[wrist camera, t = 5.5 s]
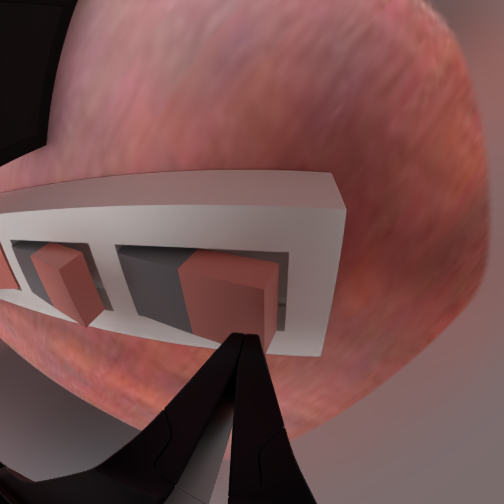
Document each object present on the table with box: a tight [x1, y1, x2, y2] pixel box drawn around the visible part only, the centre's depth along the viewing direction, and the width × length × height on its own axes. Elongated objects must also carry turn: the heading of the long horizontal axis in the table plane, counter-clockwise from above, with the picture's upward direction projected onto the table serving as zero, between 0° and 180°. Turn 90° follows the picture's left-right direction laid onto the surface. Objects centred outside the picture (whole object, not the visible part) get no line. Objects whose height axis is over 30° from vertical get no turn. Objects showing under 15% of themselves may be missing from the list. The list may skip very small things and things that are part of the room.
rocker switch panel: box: [0, 170, 347, 357], centre depth 14 cm, size 29×7×4 cm, turn 92°
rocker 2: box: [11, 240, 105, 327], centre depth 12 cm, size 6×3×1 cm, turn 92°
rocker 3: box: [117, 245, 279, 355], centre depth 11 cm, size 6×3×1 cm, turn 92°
